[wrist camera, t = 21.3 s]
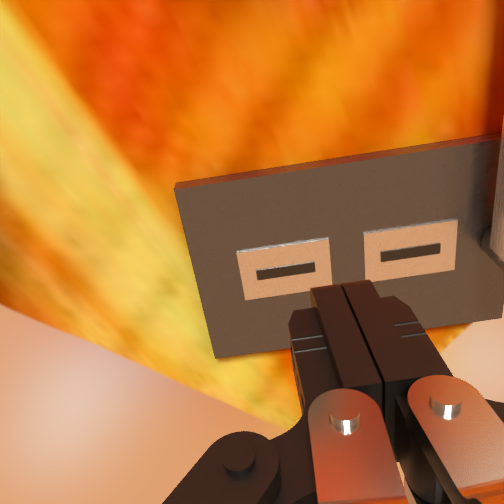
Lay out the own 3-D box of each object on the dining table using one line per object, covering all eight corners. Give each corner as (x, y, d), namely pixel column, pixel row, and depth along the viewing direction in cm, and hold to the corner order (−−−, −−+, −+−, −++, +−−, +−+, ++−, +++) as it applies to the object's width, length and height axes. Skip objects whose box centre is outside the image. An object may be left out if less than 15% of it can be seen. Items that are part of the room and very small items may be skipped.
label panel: (215, 348, 49) (215, 360, 47) (175, 182, 40) (173, 191, 38) (494, 308, 48) (503, 319, 46) (516, 130, 39) (528, 136, 37)
